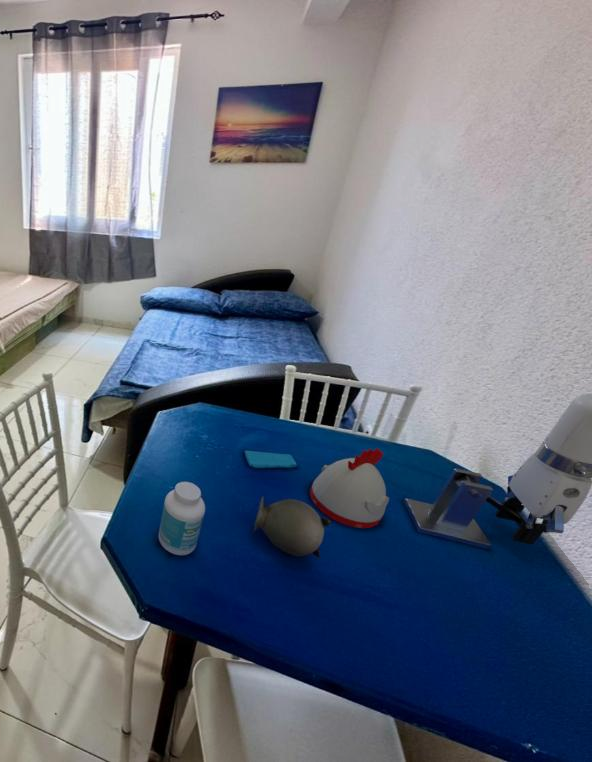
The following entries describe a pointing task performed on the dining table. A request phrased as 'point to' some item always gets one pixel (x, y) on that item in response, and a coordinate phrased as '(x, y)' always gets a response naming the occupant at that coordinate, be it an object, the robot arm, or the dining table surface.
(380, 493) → the kitchen timer
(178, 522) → the pill bottle
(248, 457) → the sponge
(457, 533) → the bracket
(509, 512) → the lever
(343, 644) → the dining table surface
